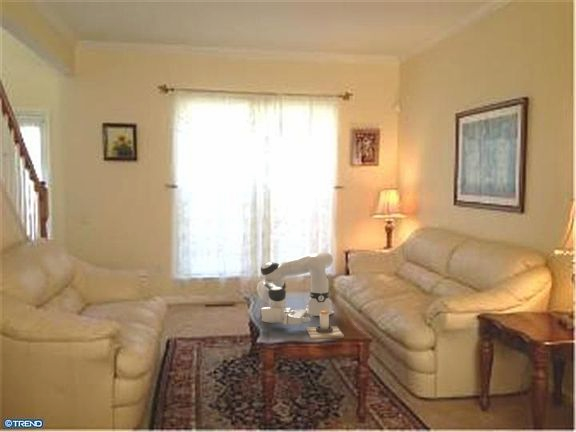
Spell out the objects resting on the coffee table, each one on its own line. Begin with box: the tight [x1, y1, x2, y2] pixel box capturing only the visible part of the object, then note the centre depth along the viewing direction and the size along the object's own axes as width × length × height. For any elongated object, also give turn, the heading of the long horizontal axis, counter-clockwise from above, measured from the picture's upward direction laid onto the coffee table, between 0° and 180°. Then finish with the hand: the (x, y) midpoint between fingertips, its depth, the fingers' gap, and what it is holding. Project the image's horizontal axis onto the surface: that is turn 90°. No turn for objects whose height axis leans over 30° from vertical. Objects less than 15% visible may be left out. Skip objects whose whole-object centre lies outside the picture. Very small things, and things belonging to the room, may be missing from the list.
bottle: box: [319, 310, 330, 329], centre depth 292 cm, size 5×5×11 cm
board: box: [305, 325, 345, 340], centre depth 292 cm, size 18×18×3 cm
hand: (312, 317), depth 293 cm, fingers open, 8 cm apart
